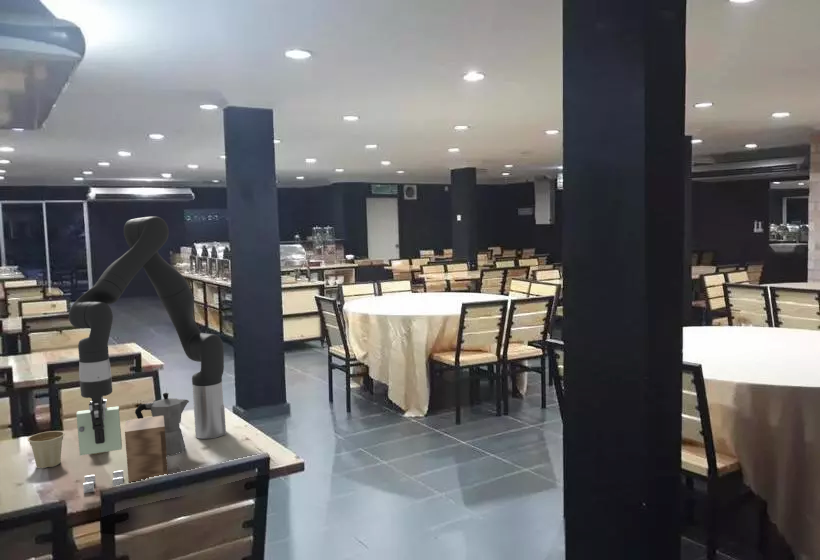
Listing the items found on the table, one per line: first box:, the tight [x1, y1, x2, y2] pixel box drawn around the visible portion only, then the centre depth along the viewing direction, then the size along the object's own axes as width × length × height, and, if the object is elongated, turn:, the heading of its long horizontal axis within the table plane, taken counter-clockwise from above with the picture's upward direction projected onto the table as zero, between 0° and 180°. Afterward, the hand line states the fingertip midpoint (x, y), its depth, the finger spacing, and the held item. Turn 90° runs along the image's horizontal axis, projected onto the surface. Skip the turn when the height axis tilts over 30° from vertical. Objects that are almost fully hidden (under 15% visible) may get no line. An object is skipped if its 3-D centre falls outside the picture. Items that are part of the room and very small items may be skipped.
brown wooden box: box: [124, 415, 169, 483], centre depth 185 cm, size 10×11×14 cm
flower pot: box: [27, 430, 65, 469], centre depth 193 cm, size 9×9×9 cm
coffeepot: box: [134, 392, 190, 456], centre depth 201 cm, size 15×9×18 cm, turn 116°
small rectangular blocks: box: [82, 469, 125, 494], centre depth 177 cm, size 9×6×2 cm, turn 112°
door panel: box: [75, 405, 123, 456], centre depth 175 cm, size 10×4×11 cm, turn 112°
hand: (100, 440), depth 176 cm, fingers closed on door panel, 3 cm apart
